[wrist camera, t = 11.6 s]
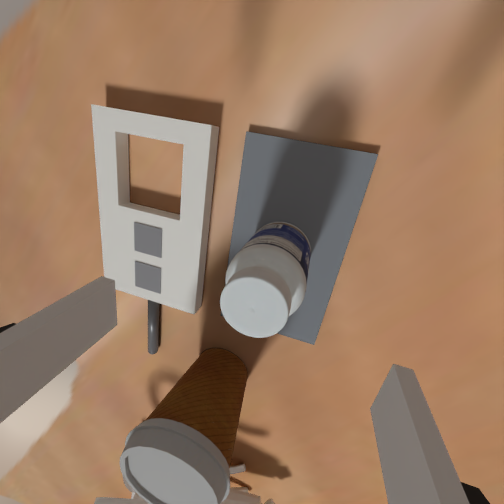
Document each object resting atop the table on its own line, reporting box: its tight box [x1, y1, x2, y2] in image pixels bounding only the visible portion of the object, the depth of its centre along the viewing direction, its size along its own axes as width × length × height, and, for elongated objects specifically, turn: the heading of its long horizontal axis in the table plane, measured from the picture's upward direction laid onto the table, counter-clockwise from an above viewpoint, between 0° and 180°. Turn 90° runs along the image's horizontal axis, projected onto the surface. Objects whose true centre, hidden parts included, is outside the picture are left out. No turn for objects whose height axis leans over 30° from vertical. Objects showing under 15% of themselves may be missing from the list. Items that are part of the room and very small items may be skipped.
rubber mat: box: [221, 132, 378, 345], centre depth 23 cm, size 10×18×1 cm, turn 171°
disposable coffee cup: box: [120, 348, 248, 504], centre depth 26 cm, size 10×10×12 cm
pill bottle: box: [220, 222, 311, 338], centre depth 19 cm, size 5×5×10 cm
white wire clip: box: [94, 464, 275, 504], centre depth 36 cm, size 17×9×22 cm
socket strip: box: [91, 104, 219, 354], centre depth 27 cm, size 27×11×2 cm, turn 171°
